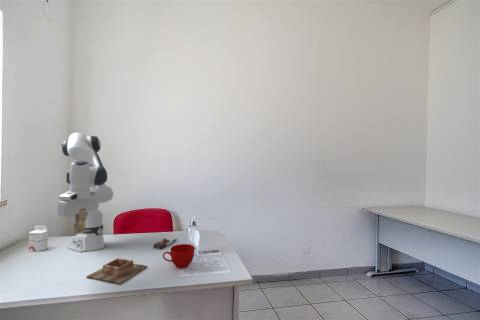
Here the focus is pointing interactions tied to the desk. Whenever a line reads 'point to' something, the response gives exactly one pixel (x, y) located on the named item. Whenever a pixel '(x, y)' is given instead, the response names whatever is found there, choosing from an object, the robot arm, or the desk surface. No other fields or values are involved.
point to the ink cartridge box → (38, 238)
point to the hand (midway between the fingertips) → (79, 222)
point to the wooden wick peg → (80, 222)
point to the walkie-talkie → (163, 243)
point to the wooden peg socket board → (117, 271)
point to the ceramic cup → (181, 255)
